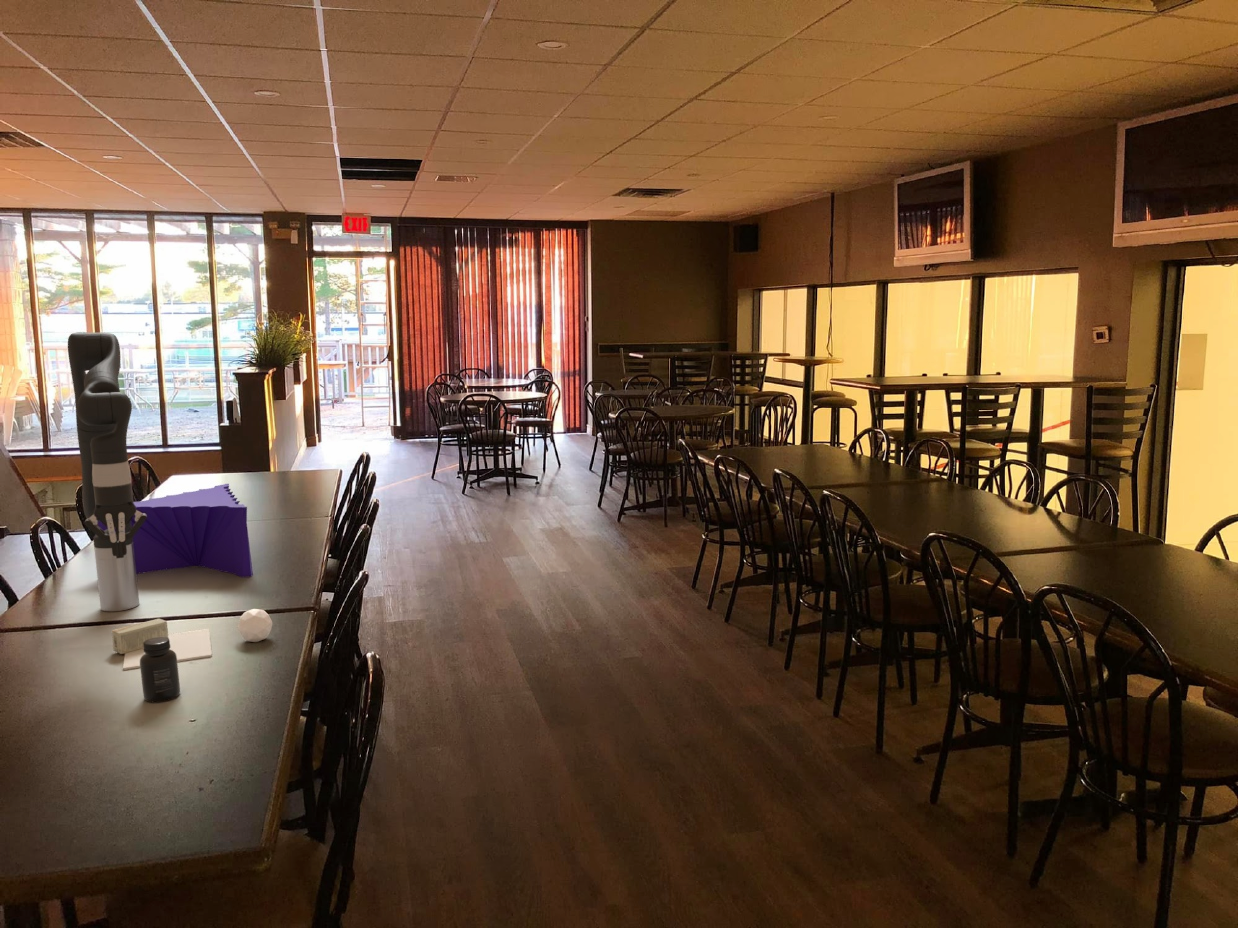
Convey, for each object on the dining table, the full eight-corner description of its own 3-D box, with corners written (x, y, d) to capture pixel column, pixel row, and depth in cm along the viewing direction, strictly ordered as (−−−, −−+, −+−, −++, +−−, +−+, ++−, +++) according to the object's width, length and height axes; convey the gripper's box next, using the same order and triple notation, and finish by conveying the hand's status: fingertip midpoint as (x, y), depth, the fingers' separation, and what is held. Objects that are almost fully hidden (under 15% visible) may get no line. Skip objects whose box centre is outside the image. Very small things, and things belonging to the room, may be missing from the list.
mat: (127, 641, 224) (127, 639, 224) (209, 630, 232) (208, 628, 232) (123, 670, 206) (122, 667, 206) (211, 656, 214) (211, 654, 214)
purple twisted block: (250, 578, 278) (245, 507, 275) (101, 579, 280) (93, 508, 276) (298, 545, 318) (294, 483, 314) (167, 546, 319) (161, 484, 315)
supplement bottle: (186, 689, 195) (181, 634, 193) (171, 702, 189) (166, 646, 187) (152, 690, 195) (147, 635, 193) (137, 703, 188) (131, 646, 186)
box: (112, 650, 217) (161, 638, 225) (120, 654, 214) (169, 642, 223) (111, 628, 216) (159, 617, 225) (119, 632, 214) (167, 621, 222)
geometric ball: (261, 647, 227) (278, 617, 230) (261, 646, 220) (278, 615, 222) (232, 635, 225) (248, 604, 228) (230, 633, 218) (247, 601, 221)
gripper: (145, 476, 215) (152, 550, 218) (80, 481, 210) (88, 556, 213) (144, 482, 208) (152, 557, 211) (76, 487, 203) (85, 565, 206)
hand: (120, 557), depth 212 cm, fingers closed
